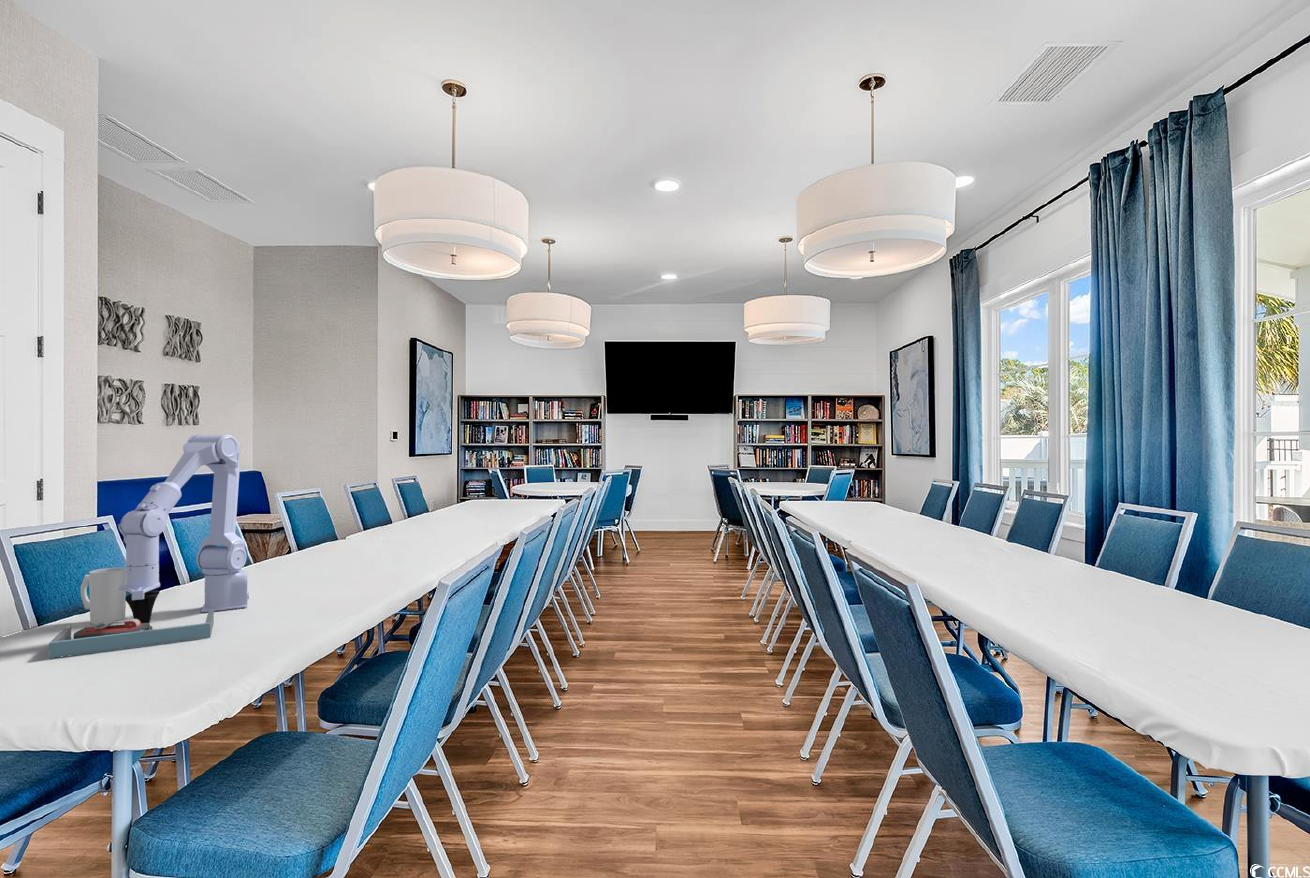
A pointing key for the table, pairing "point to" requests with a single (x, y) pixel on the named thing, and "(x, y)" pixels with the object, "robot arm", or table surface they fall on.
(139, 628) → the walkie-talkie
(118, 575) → the mug
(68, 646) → the tray
